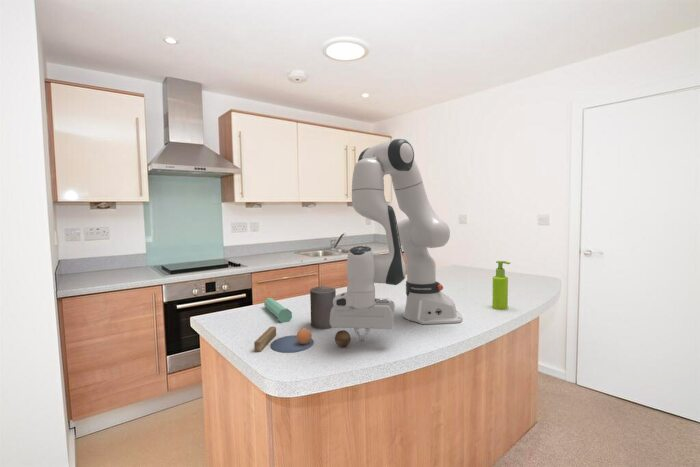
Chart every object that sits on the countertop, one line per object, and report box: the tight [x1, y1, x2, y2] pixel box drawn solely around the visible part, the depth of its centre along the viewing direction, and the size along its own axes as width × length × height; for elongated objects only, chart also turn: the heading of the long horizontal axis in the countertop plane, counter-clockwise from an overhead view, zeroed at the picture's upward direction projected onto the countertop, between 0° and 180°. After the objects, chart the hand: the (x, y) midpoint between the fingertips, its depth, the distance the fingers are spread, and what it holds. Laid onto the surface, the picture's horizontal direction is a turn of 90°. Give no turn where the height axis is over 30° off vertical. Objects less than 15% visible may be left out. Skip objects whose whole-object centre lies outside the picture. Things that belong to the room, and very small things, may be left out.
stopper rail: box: [253, 326, 277, 352], centre depth 117 cm, size 2×14×3 cm, turn 172°
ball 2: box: [334, 329, 352, 347], centre depth 113 cm, size 5×5×5 cm
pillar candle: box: [309, 285, 337, 330], centre depth 133 cm, size 10×10×15 cm
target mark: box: [270, 334, 315, 354], centre depth 116 cm, size 14×14×1 cm
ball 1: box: [295, 328, 313, 345], centre depth 115 cm, size 5×5×5 cm
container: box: [263, 297, 293, 324], centre depth 148 cm, size 6×6×25 cm
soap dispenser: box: [491, 260, 511, 311], centre depth 149 cm, size 6×7×20 cm
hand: (362, 341), depth 112 cm, fingers closed
